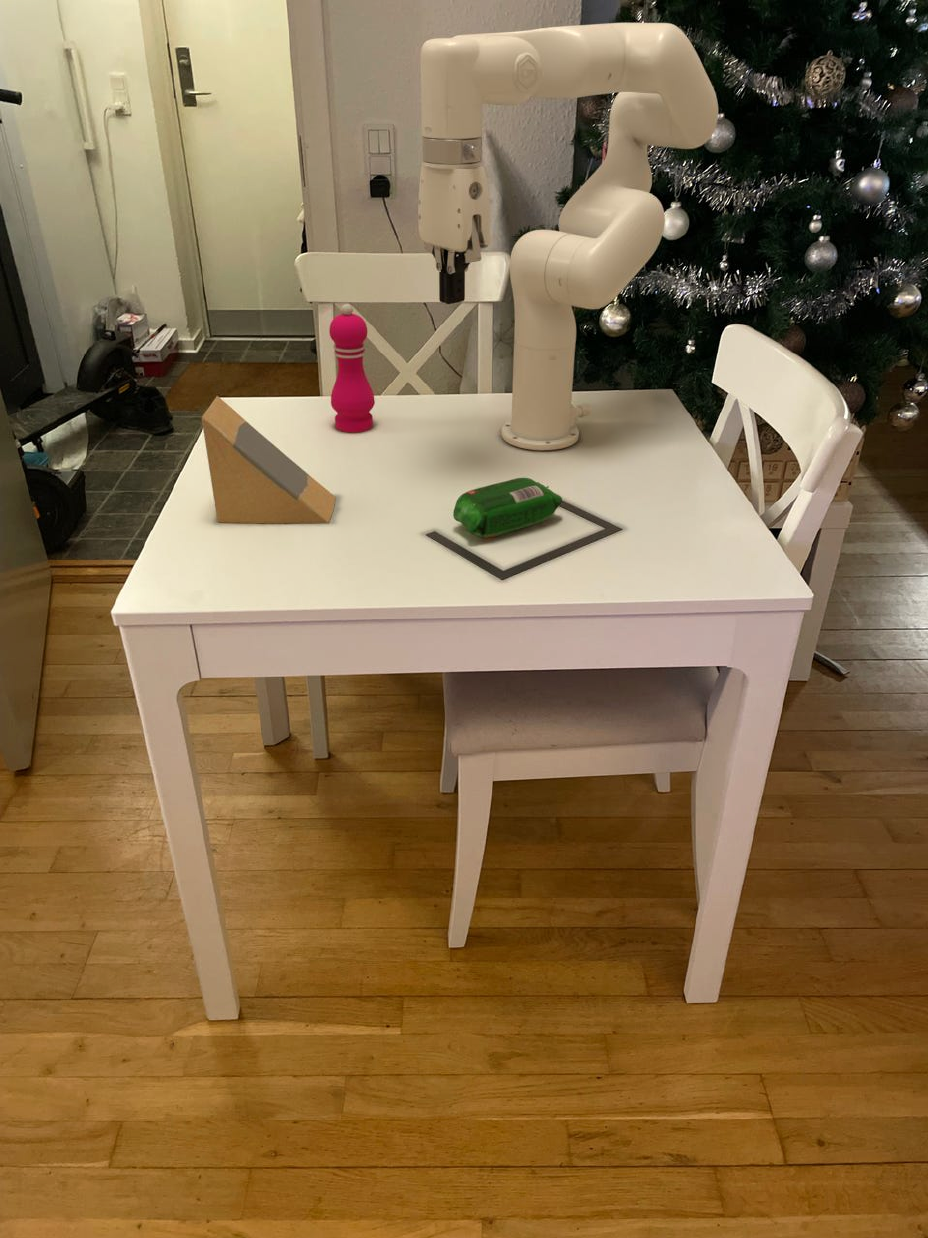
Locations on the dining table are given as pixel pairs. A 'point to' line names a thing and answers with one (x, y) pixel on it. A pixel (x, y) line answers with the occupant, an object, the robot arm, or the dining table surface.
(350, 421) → the pepper mill
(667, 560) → the dining table surface
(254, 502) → the sandwich container
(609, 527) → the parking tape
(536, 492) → the snack package
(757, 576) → the dining table surface
